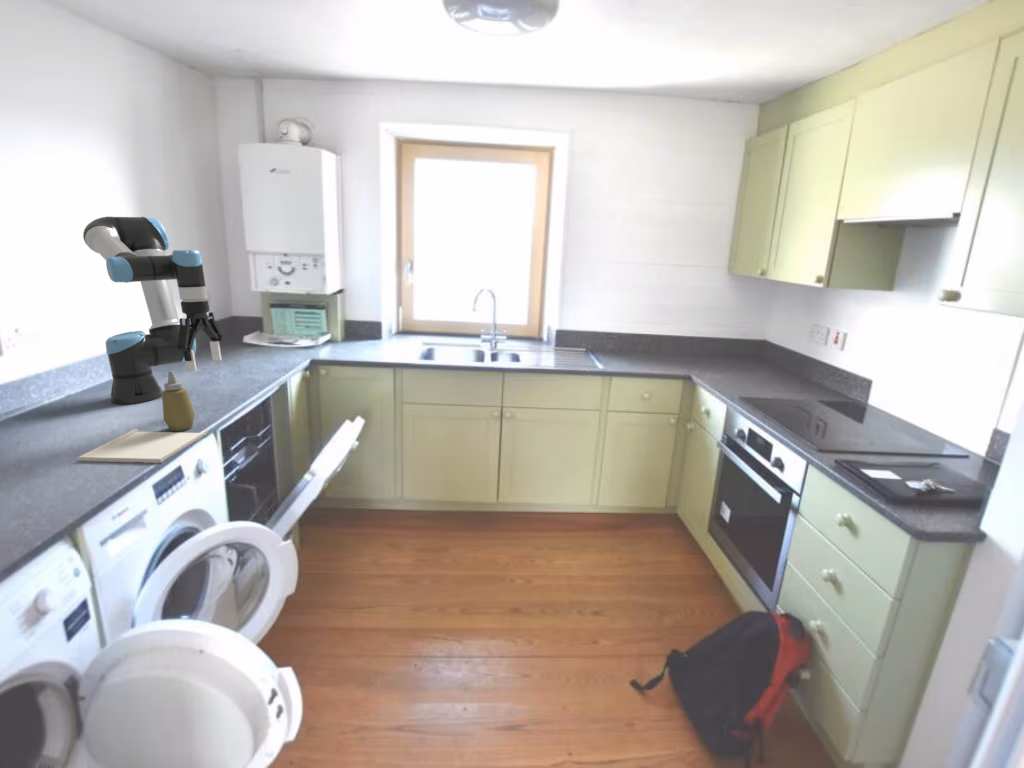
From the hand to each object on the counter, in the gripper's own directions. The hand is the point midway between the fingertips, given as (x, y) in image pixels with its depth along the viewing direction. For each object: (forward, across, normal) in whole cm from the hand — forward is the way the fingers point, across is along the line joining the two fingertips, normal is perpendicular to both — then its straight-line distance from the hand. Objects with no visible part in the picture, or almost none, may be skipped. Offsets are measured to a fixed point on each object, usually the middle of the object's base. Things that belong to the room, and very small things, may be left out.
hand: (205, 365), depth 170 cm
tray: (+16, +30, 0) cm, 34 cm away
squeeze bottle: (+16, +16, 0) cm, 23 cm away
